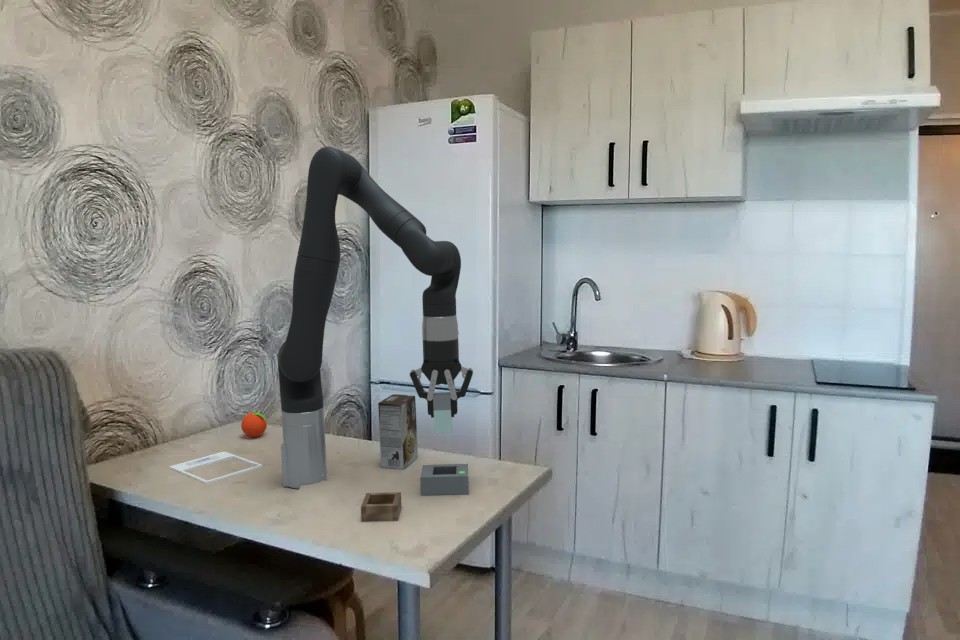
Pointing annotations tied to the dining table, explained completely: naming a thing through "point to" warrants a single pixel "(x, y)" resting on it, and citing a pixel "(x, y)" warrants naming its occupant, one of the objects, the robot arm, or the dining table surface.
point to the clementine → (254, 424)
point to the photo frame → (210, 460)
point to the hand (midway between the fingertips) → (442, 416)
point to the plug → (442, 412)
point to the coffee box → (398, 431)
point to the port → (444, 479)
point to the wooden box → (381, 507)
